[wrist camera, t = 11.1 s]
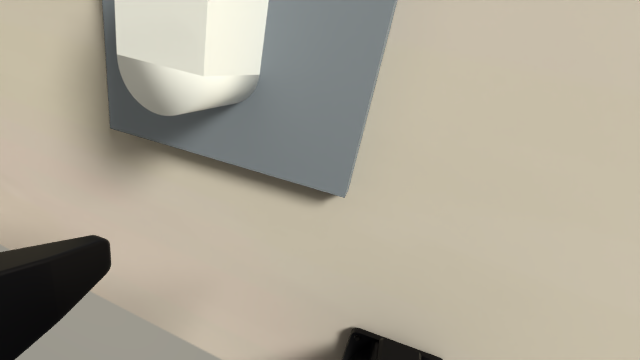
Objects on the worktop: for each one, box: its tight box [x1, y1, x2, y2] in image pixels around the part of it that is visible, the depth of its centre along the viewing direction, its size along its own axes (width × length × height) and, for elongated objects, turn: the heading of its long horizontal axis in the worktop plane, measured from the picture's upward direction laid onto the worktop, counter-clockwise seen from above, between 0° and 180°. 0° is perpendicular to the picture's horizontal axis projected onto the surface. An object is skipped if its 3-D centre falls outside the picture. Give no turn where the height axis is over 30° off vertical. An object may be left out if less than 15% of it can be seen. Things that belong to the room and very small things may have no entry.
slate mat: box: [102, 0, 397, 198], centre depth 16 cm, size 16×16×1 cm
